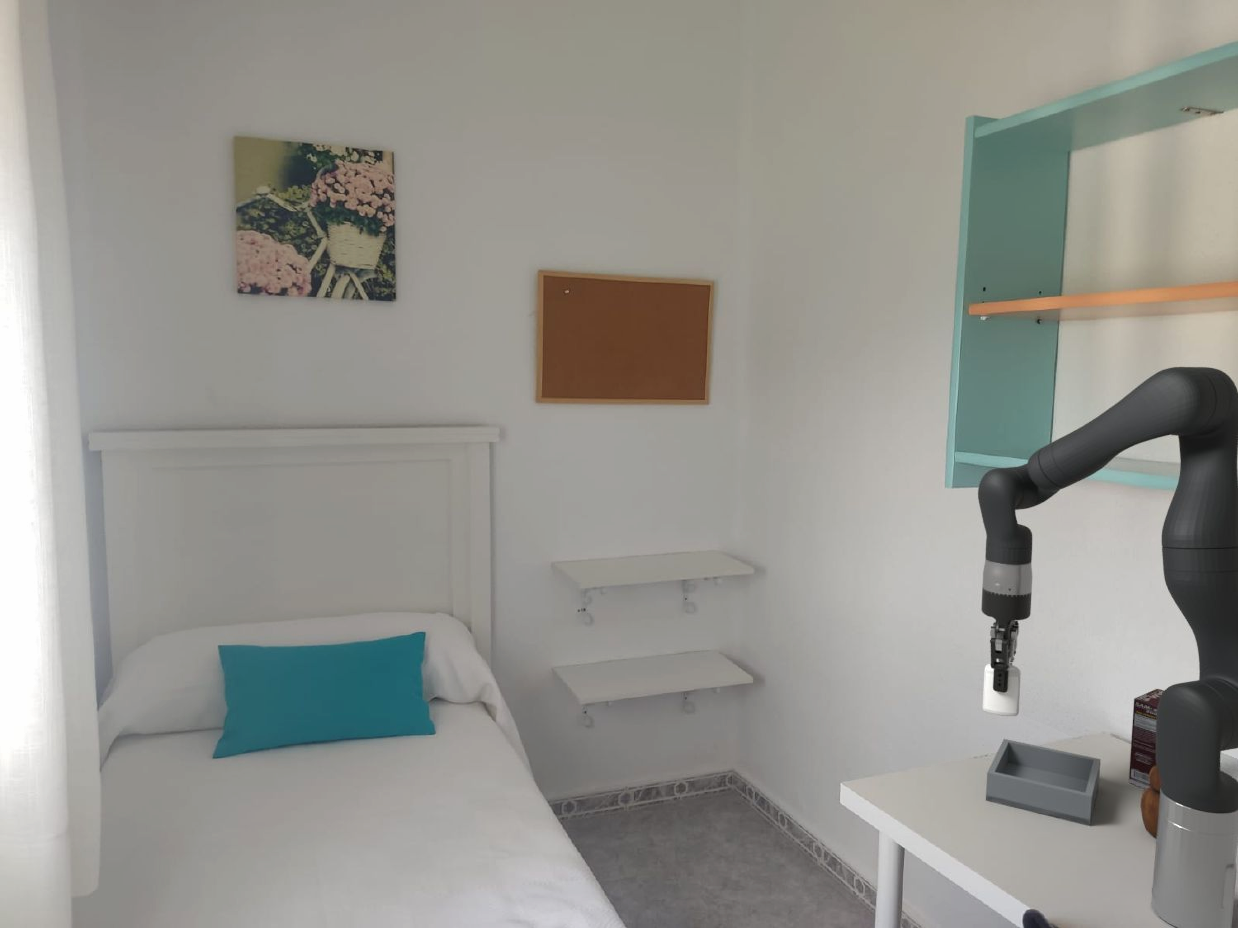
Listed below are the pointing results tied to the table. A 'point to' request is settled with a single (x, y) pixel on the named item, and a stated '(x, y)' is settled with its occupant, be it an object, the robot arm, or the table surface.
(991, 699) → the eye dropper bottle
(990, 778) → the box
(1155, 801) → the wooden figurine
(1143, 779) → the supplement box
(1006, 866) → the table surface
